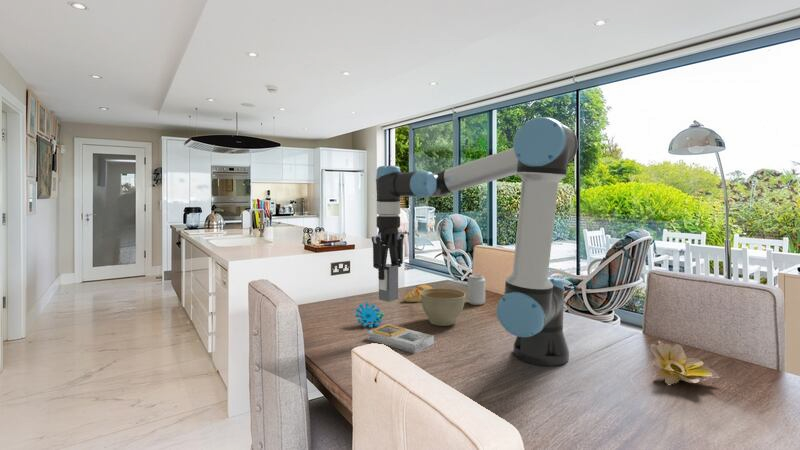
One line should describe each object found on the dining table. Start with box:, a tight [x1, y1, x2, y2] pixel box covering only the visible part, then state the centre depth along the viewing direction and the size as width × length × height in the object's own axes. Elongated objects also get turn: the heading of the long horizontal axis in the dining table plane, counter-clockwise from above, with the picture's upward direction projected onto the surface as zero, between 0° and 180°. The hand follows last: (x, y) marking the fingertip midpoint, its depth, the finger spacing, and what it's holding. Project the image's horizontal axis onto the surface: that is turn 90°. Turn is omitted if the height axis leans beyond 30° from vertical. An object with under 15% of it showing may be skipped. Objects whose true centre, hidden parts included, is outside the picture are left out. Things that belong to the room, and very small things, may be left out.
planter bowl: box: [421, 287, 466, 327], centre depth 149 cm, size 16×16×11 cm
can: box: [466, 274, 486, 306], centre depth 175 cm, size 8×8×12 cm
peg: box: [378, 263, 399, 303], centre depth 132 cm, size 4×4×11 cm
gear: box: [355, 302, 386, 329], centre depth 148 cm, size 11×6×10 cm
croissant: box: [402, 283, 434, 303], centre depth 183 cm, size 21×10×8 cm
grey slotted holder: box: [366, 323, 435, 354], centre depth 130 cm, size 19×10×3 cm, turn 51°
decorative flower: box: [650, 340, 720, 385], centre depth 101 cm, size 15×11×10 cm
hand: (388, 287), depth 132 cm, fingers closed on peg, 4 cm apart
